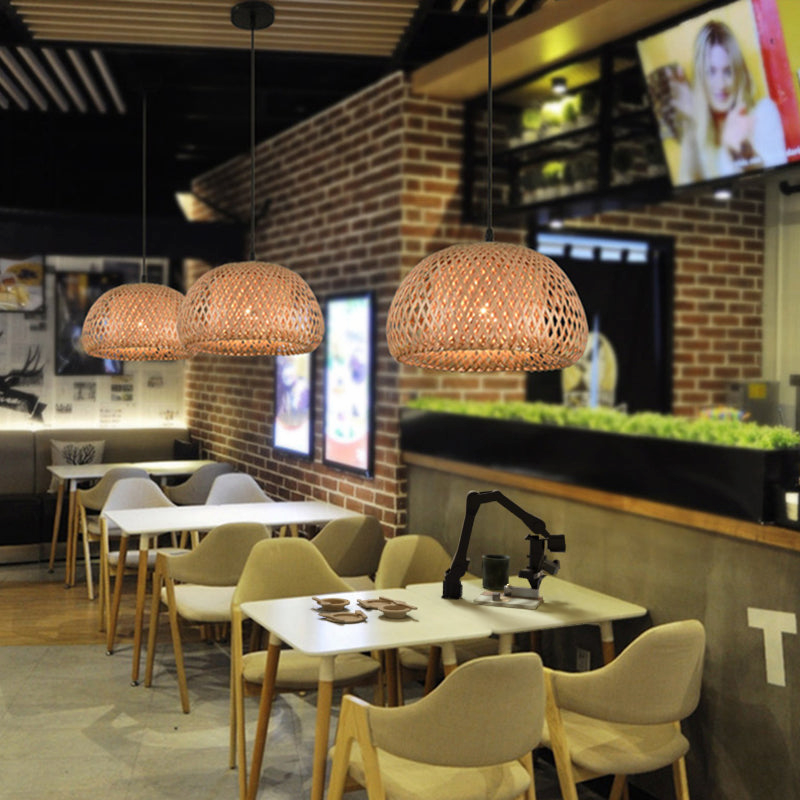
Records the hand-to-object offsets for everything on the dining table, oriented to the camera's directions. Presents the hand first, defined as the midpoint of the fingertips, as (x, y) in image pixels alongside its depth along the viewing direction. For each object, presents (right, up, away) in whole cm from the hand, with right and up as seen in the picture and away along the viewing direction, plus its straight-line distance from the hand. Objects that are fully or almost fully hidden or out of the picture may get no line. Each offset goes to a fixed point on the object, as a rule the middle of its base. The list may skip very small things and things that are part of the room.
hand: (535, 594), depth 377 cm
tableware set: (-62, -1, -27) cm, 68 cm away
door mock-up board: (-10, -2, -4) cm, 11 cm away
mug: (-14, -2, +23) cm, 26 cm away
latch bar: (-6, 0, -1) cm, 6 cm away
